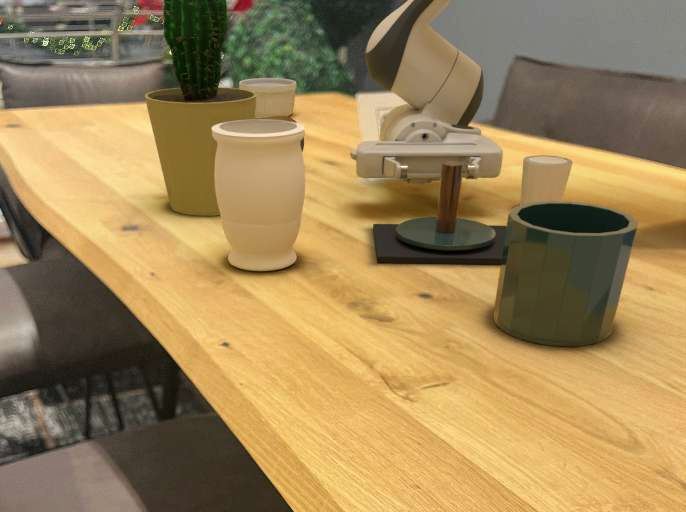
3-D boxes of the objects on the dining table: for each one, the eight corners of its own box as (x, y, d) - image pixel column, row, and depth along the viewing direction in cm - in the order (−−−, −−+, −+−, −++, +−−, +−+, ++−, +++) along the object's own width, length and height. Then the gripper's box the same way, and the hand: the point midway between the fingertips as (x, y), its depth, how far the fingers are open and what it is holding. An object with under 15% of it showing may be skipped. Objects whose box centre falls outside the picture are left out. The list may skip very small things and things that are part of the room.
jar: (285, 280, 87) (283, 138, 79) (204, 269, 90) (194, 131, 82) (317, 253, 96) (318, 121, 87) (241, 243, 98) (236, 115, 90)
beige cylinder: (561, 218, 109) (571, 166, 105) (512, 214, 111) (521, 162, 107) (564, 206, 114) (574, 156, 110) (518, 202, 116) (526, 152, 112)
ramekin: (275, 122, 171) (274, 87, 167) (228, 116, 177) (226, 82, 173) (307, 114, 180) (307, 80, 176) (262, 108, 186) (261, 76, 182)
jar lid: (486, 226, 103) (496, 153, 97) (502, 256, 93) (514, 175, 87) (392, 225, 103) (397, 151, 98) (398, 254, 93) (404, 174, 87)
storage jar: (593, 303, 82) (616, 202, 76) (626, 347, 73) (655, 236, 67) (485, 301, 83) (500, 200, 76) (504, 345, 73) (523, 234, 67)
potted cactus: (203, 226, 105) (183, -42, 87) (135, 205, 113) (104, -42, 96) (282, 205, 114) (278, -41, 96) (213, 187, 122) (198, -42, 105)
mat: (505, 231, 104) (506, 225, 103) (525, 265, 92) (526, 258, 92) (372, 229, 104) (373, 223, 104) (377, 263, 93) (377, 256, 92)
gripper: (349, 127, 109) (360, 147, 98) (490, 127, 110) (516, 147, 99) (347, 174, 113) (358, 198, 102) (483, 173, 114) (508, 197, 103)
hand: (437, 173), depth 100 cm, fingers open, 8 cm apart
